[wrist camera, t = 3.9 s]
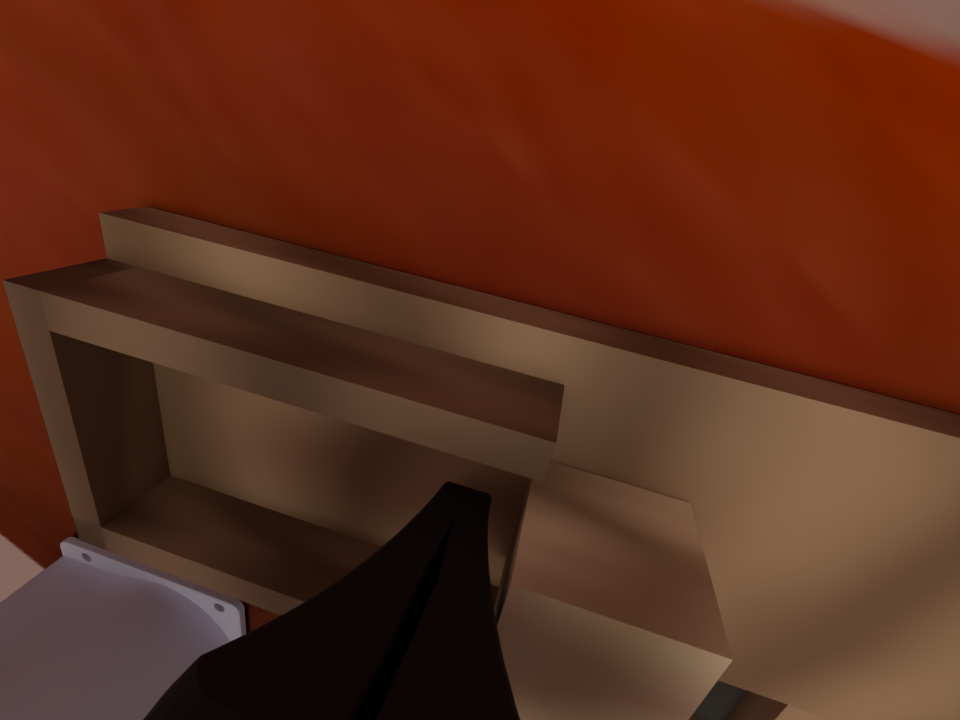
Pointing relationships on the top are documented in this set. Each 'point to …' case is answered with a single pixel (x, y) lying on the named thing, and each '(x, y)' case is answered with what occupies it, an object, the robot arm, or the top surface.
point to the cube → (607, 603)
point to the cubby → (256, 369)
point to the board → (618, 468)
